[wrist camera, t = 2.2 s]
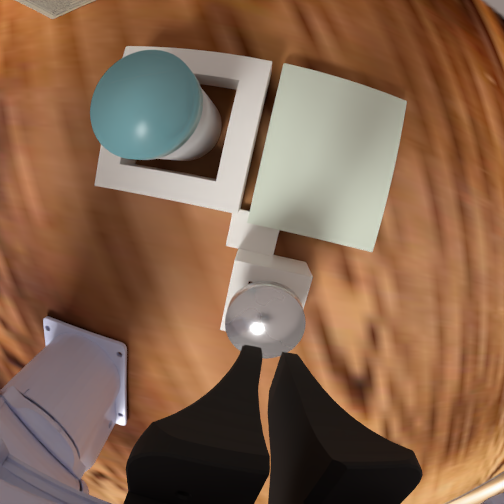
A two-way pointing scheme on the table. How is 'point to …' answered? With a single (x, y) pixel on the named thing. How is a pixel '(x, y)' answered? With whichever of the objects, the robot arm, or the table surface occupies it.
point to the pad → (327, 158)
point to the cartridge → (153, 109)
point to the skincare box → (54, 6)
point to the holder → (219, 172)
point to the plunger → (265, 318)
